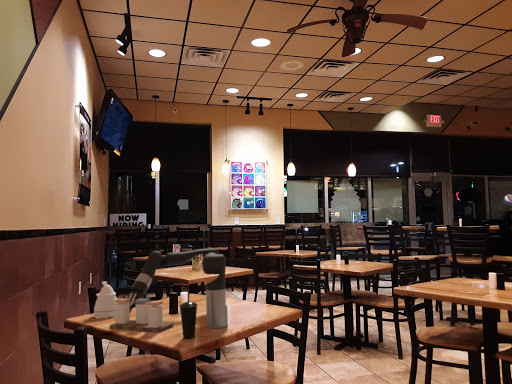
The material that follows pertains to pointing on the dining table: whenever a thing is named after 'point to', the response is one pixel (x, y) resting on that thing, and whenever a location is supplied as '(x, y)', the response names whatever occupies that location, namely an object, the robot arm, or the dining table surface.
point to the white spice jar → (122, 311)
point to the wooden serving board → (141, 326)
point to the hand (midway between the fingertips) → (125, 314)
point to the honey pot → (105, 302)
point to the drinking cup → (188, 318)
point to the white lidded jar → (142, 311)
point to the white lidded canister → (155, 314)
